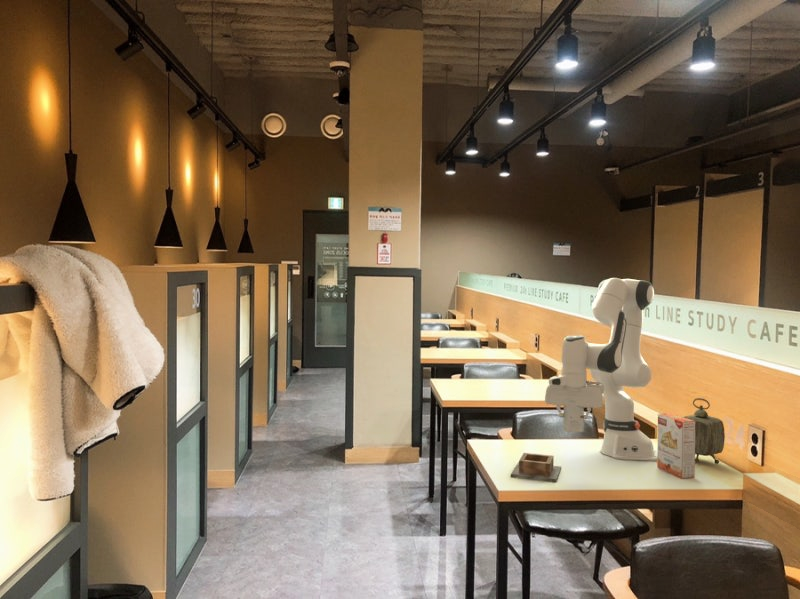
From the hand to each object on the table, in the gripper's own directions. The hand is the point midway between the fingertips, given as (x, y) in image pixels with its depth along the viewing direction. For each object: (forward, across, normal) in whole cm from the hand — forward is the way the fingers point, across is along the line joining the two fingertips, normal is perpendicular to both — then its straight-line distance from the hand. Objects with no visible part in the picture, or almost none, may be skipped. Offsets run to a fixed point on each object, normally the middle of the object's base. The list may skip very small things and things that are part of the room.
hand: (573, 418), depth 223 cm
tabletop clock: (+21, -45, -36) cm, 62 cm away
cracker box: (+21, -35, -17) cm, 44 cm away
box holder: (+21, +13, +2) cm, 25 cm away
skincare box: (+5, 0, 0) cm, 5 cm away
